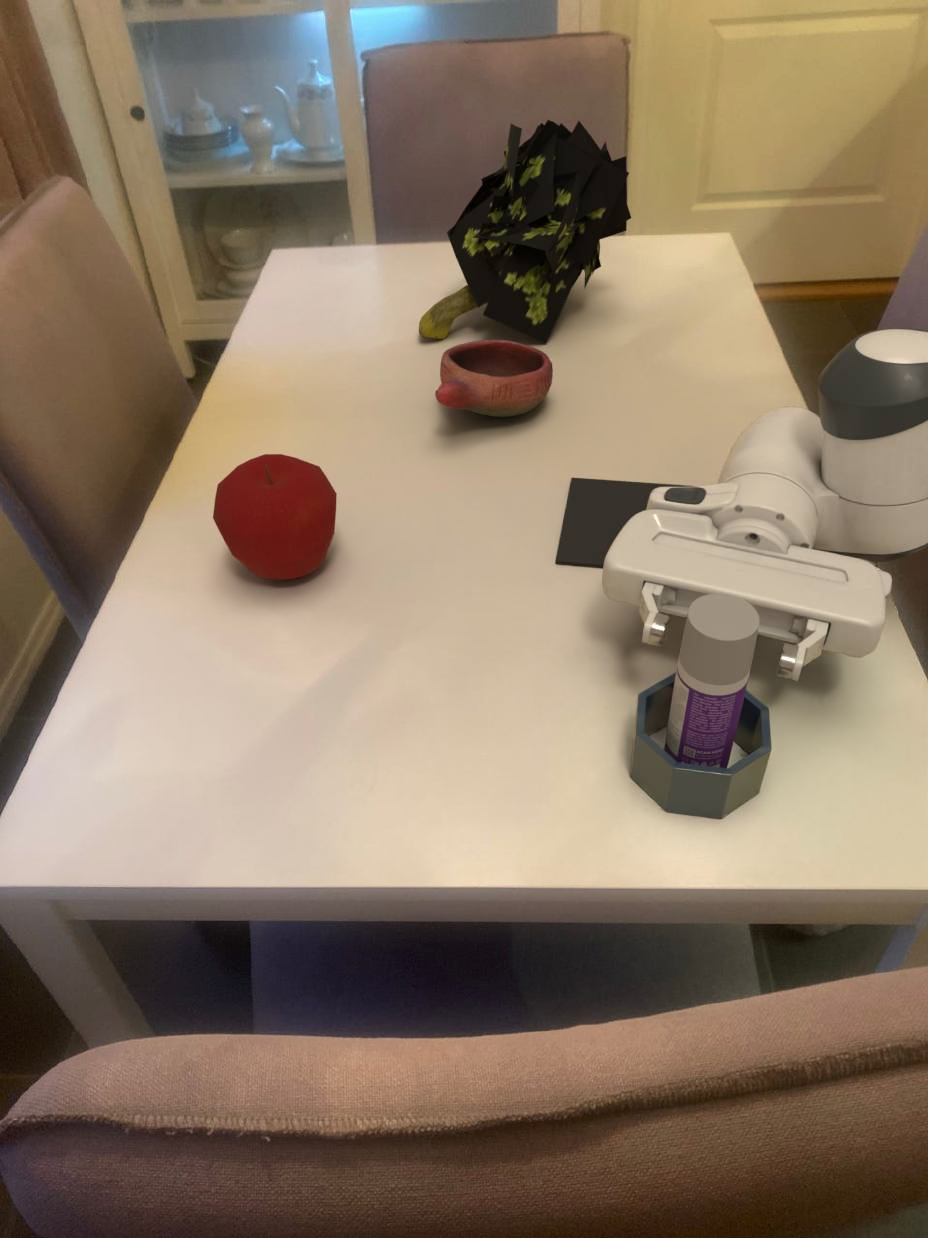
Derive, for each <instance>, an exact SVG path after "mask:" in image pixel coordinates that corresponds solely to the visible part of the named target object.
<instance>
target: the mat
mask: <svg viewBox="0 0 928 1238" xmlns="http://www.w3.org/2000/svg"><path fill="white" fill-rule="evenodd" d="M694 486H695V485H687V484H686V485H685V484H670V483H659V482H658V483H656V482H643V481H628V480H615V479H614V480H613V479H601V478H600V479H599V478H585V477H571V478H570V484H569V488H568V489H569V490H568V494H567V500H566V504H565V509H564V514H563V515H564V516H563V521H562V526H561V531H560V536H559V540H558V546H557V551H556V557H555V565H561V566H562V565H563V566H573V567H575V566H576V567H587V568H598V569H603V566H604V560H605V557H606V555H607V553H608V550H609V549H610V547H611V545H612V543H613V542H614V540H615V538H616V537H617V535H618V534H619V532H620V531H621V530H622V528H623V527H624V526H625V524H626V523H627V522H628V521H629V520H630V519H631V518H632V517H633V516H634V515H636V514H637V513H639V512H642V511H645V510H646V508H647V504H648V500H649V497H650V494H651V492H652V491H653V490H654V489H655V488H659V487H694Z"/></svg>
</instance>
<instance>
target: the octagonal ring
mask: <svg viewBox="0 0 928 1238" xmlns="http://www.w3.org/2000/svg"><path fill="white" fill-rule="evenodd" d="M675 676H676V672H674V673H672V674H670V675H669V676H667V677H665V678H664V679H662V680H660V681H658V682H657V683H655V684H653V685H651V686H650V687H648V688H646V689H644V690H643V691H641V692H639V693H638V694H637V703H636V711H635V717H634V718H635V721H634V728H633V735H632V749H631V761H630V763H631V764H630V773H629V777H630V778H631V780H632V781H634V782H635V784H637V786H639V787H640V788H641V789H642V790H643V791H644V792H645V793H646V794H647V795H648V796H649V797H650V798H651V799H652V800H653V801H654V802H655V803H656V804H657V805H658V806H659V807H660V808H662V810H663V811H664V812H666V813H672V814H679V815H680V814H681V815H688V816H695V817H702V818H710V819H718V820H722V819H724V818H725V817H726V816H728V815H729V814H731V813H732V812H734V811H735V810H737V809H739V808H740V807H741V806H743V805H744V804H745V803H747V802H749V801H750V800H751V799H753V798H754V797H756V796H757V795H759V794H760V791H761V788H762V784H763V781H764V777H765V774H766V770H767V767H768V763H769V760H770V756H771V753H772V750H773V749H772V735H771V734H772V733H771V719H770V718H771V717H770V708H769V707H768V705H766V704H765V703H763V702H762V701H760V700H759V699H758V698H757V697H755V696H754V695H753V694H752V693H750V692H749V691H748V690H746V692H745V696H744V700H743V704H742V709H741V713H740V717H739V721H738V725H737V729H736V734H735V738H734V743H736V744H737V745H738V746H739V747H741V748H742V749H743V750H744V751H746V753H748V754H747V755H746V756H744V757H743V758H742V759H740V760H739V761H737V762H735V763H734V764H732V765H731V766H729V767H727V768H720V767H712V766H704V765H696V764H687V763H679V762H677V761H676V760H674V759H673V758H672V757H671V756H670V755H669V754H668V753H667V752H666V751H665V750H664V748H663V747H661V746H660V745H659V744H658V743H657V742H656V741H655V740H654V739H653V738H652V737H651V736H652V735H653V734H655V733H657V732H658V731H660V730H661V729H663V728H665V727H667V726H668V721H669V715H670V708H671V702H672V695H673V689H674V683H675Z"/></svg>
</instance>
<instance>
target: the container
mask: <svg viewBox="0 0 928 1238" xmlns="http://www.w3.org/2000/svg"><path fill="white" fill-rule="evenodd" d="M759 623H760V619H759V615H758V613H757V611H756V610H755V608H754V607H753V606H752V605H751V604H750V603H748V602H747V601H745V600H743V599H741V598H739V597H736V596H733V595H729V594H708V595H704V596H702V597H699V598H698V599H696V600H695V601H694V602H693V603H692V604H691V605H690V607H689V609H688V613H687V618H685V624H684V630H683V634H682V640H681V645H680V651H679V654H678V660H677V665H676V671H675V673H676V676H675V683H674V689H673V695H672V702H671V708H670V715H669V721H668V725H667V726H666V734H665V741H664V747H663V750H665V751H666V752H667V753H668V754H669V755H670V756H671V757H672V758H673V759H674V760H676V761H677V762H679V763H687V764H696V765H704V766H712V767H720V768H729V767H728V766H729V762H730V758H731V754H732V750H733V746H734V743H735V741H734V738H735V734H736V729H737V725H738V721H739V717H740V713H741V709H742V704H743V700H744V696H745V692H746V691H747V688H748V684H749V679H750V673H751V668H752V663H753V658H754V653H755V649H756V648H755V647H756V644H757V638H758V634H757V633H758V628H759Z"/></svg>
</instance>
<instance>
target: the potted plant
mask: <svg viewBox="0 0 928 1238" xmlns="http://www.w3.org/2000/svg"><path fill="white" fill-rule="evenodd" d="M522 131H523V128H522V127H519V126H517V125H515V124H513V123H510V126H509V132H508V137H507V138H508V139H507V144H506V150H504V151H503V155H504V163H503V164H502V167H501V168H499V169H498V170H496V171H495V172H493V173H490V174H488V175H486V176H483V177H482V178H481V185H480V187H479V188H478V189H477V191H476V193H475V194H474V195H473V196H472V198H471V199H470V201H469V202H468V203H467V205H466V206H465V208H464V209H463V211H462V213H461V214H460V216H459V218H458V219H457V221H456V222H455V224H454V225H453V226H452V227H451V228H449V230H447V231H446V234H447V237H448V239H449V242H450V246H451V248H452V251H453V253H454V256H455V259H456V261H457V264H458V266H459V269H460V270H461V273H462V275H463V277H464V280H465V282H466V285H465V286H463V287H461V288H460V289H459V290H457V291H455V292H454V293H451V294H449V295H447V296H445V297H444V298H442V299H441V300H439V301H437V302H436V303H435V304H433V305H432V306H431V307H430V308H429V309H428V310H427V311H426V312H425V313H424V314H423V315H422V316H421V319H420V320H419V322H418V333H419V335H420V336H421V338H428V339H429V338H430V339H435V340H444V339H445V338H446V337H447V336H448V334H449V332H450V330H451V328H452V325H453V322H455V320H456V319H457V318H458V317H460V316H462V315H464V314H467V313H468V312H471V311H473V310H475V309H477V308H478V309H479V308H480V307H482V306H483V305H485V304H486V306H485V308H484V310H483V312H482V316H483V317H485V318H488V319H490V320H493V321H495V322H497V323H499V324H501V325H503V326H505V327H508V328H510V329H512V330H514V331H516V332H518V333H520V334H522V335H525V336H526V337H529V338H531V339H533V340H536V341H537V342H539V343H541V344H544V345H547V342H548V341H549V339H550V336H551V335H552V332H553V330H554V329H555V327H556V324H557V322H558V320H559V318H560V316H561V314H562V312H563V309H564V306H565V304H566V302H567V299H568V297H569V295H570V293H571V291H572V288H573V287H574V286H575V284H576V282H577V280H579V278H580V276H581V274H582V272H584V286H583V287H584V288H583V289H586V287H587V285H588V283H589V280H590V279H591V277H592V276H593V275H594V273H595V271H596V270H598V269H600V268H602V263H601V259H600V256H601V255H600V254H601V241H600V240H603V239H606V238H610V237H612V236H615V235H618V234H621V233H624V232H626V231H627V224H628V223H627V221H629V220H630V219H632V215H631V212H630V209H629V205H628V181H627V180H628V177H629V175H630V172H629V171H627V156H626V155H625V156H623V157H619V158H617V159H613V160H612V157H611V155H610V152H609V150H608V146H607V142H606V141H605V140H604V143H603V145H602V147H601V148H600V147H599V144H597V142H596V141H595V140H594V138H593V137H592V135H591V134H590V133H589V131H588V130H587V129H586V128H585V126H584V125H583V124H582V122H581V121H580V120H578V121H577V123H576V125H575V126H574V128H573V130H572V131H570V129H568V128H567V127H566V126H565V125H564V124H563V123H562V122H561V123H560V124H557V123H556V122H554V121H553V120H550V119H547V121H546V122H545V124H544V123H543V122H540V124H539V125H537V127H536V128H535V130H534V133H533V134H532V135H531V137H530V138H528V139H527V140H525V141H524V142H523V143H522V144H521V145H520V143H521V138H522Z"/></svg>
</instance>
